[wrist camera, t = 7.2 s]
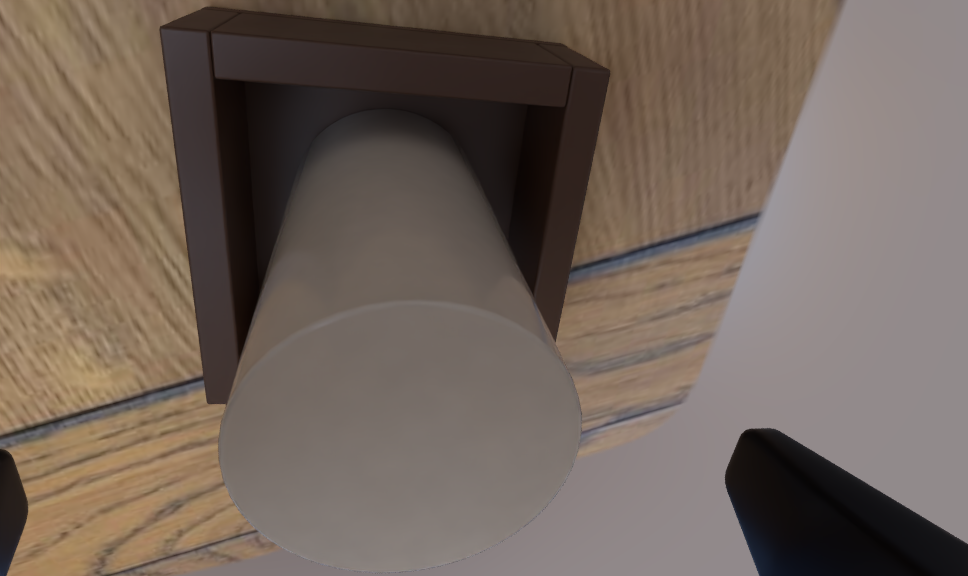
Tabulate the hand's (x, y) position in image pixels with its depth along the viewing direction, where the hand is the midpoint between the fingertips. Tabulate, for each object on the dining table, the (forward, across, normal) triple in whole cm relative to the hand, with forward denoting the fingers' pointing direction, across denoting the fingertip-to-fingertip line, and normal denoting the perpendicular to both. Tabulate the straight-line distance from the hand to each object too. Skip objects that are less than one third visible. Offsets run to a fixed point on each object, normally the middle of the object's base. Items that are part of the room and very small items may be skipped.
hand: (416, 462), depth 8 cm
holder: (+10, 0, 0) cm, 10 cm away
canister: (+9, 0, 0) cm, 9 cm away
